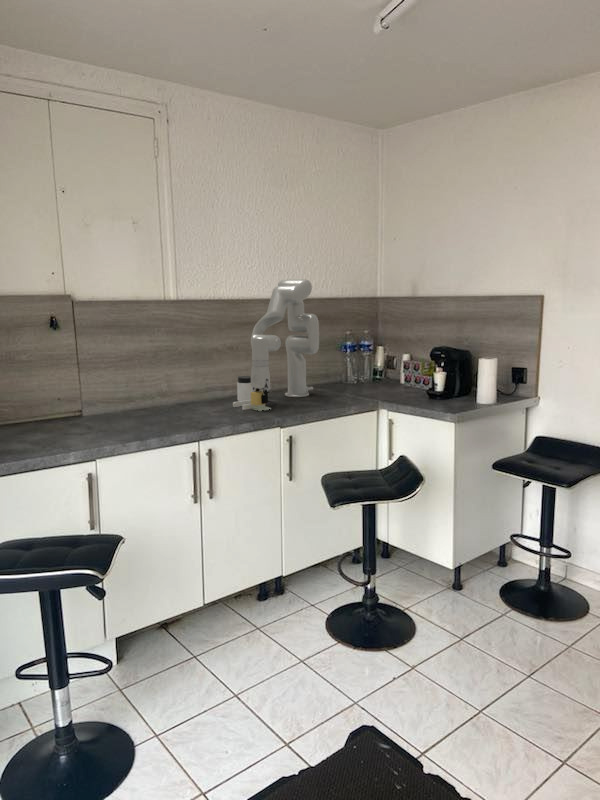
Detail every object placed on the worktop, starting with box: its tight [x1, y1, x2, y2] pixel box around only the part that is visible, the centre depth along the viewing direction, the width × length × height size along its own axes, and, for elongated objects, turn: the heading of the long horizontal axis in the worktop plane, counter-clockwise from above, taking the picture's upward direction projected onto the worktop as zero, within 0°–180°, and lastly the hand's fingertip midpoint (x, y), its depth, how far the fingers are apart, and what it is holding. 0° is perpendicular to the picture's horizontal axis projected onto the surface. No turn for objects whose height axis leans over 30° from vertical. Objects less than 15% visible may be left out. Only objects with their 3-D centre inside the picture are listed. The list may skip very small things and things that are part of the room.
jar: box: [236, 375, 254, 402], centre depth 287 cm, size 9×8×12 cm
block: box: [251, 390, 264, 405], centre depth 265 cm, size 5×5×6 cm
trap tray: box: [265, 399, 277, 407], centre depth 279 cm, size 7×8×1 cm
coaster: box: [251, 406, 272, 412], centre depth 267 cm, size 6×6×1 cm
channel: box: [232, 400, 266, 411], centre depth 273 cm, size 12×10×2 cm
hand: (261, 402), depth 267 cm, fingers closed on block, 5 cm apart
